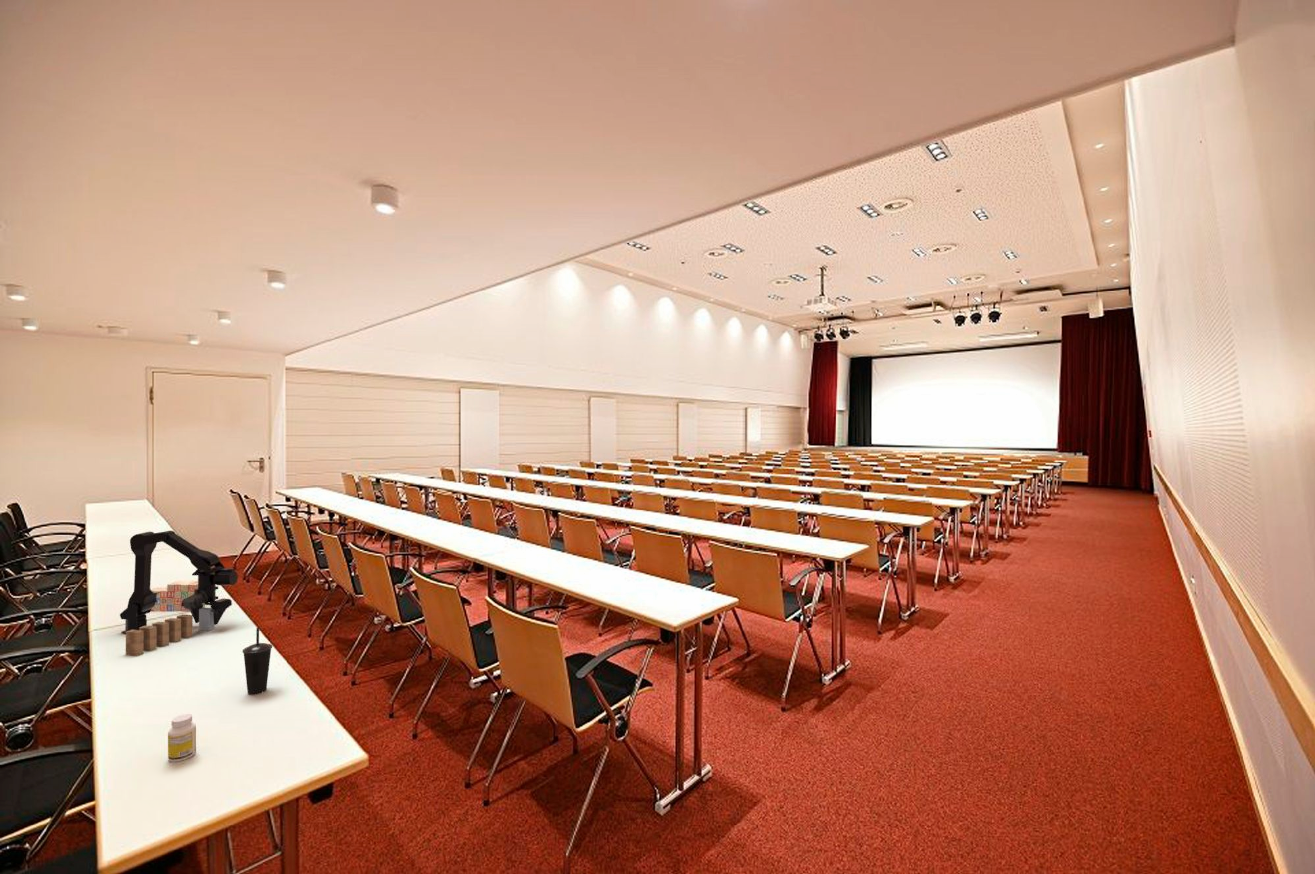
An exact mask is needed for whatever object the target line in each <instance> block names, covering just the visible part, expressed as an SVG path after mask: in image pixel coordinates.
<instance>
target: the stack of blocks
mask: <svg viewBox="0 0 1315 874" xmlns="http://www.w3.org/2000/svg"><path fill="white" fill-rule="evenodd" d="M195 589H198V580H177V581H174V582H171V583H168V584H167V585H166V587H164V586H163V587H162V586H161V587H155V588H152V589H151V591H152V592H153V593H157V597H156V600H157V602H156V603H155V606H154V607H153V608H152V609H151V611H150V612H180V613H181V612H184V613H185V612H186V613H188V612H190V610H188V609H185V608H184V607H183V606H181V602H182V601H183V599H186V598H188V597H189V596H191V595H193V594H194V591H195ZM205 606H206V605H203V608H206V607H205ZM190 613H191V612H190Z"/></svg>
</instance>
